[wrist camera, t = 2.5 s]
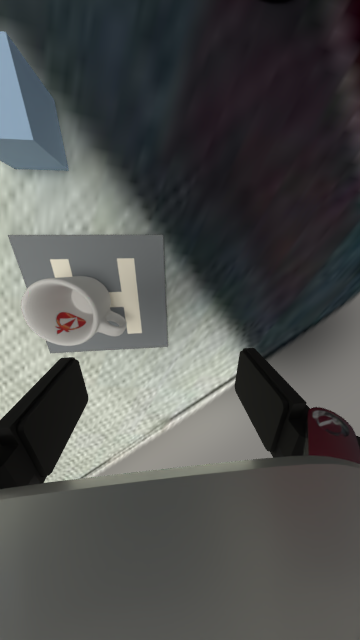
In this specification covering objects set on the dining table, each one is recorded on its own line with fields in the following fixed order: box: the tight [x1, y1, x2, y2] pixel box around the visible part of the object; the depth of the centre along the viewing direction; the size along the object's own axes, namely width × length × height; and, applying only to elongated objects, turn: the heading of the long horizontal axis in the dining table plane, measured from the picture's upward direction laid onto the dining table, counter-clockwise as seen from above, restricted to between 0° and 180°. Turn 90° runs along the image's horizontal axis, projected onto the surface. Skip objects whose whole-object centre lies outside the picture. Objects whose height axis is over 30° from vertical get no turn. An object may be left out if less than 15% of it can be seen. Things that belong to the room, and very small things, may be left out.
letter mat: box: [8, 235, 168, 353], centre depth 26 cm, size 20×18×1 cm
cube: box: [0, 31, 69, 171], centre depth 16 cm, size 6×6×6 cm
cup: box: [21, 276, 127, 346], centre depth 22 cm, size 11×8×8 cm
